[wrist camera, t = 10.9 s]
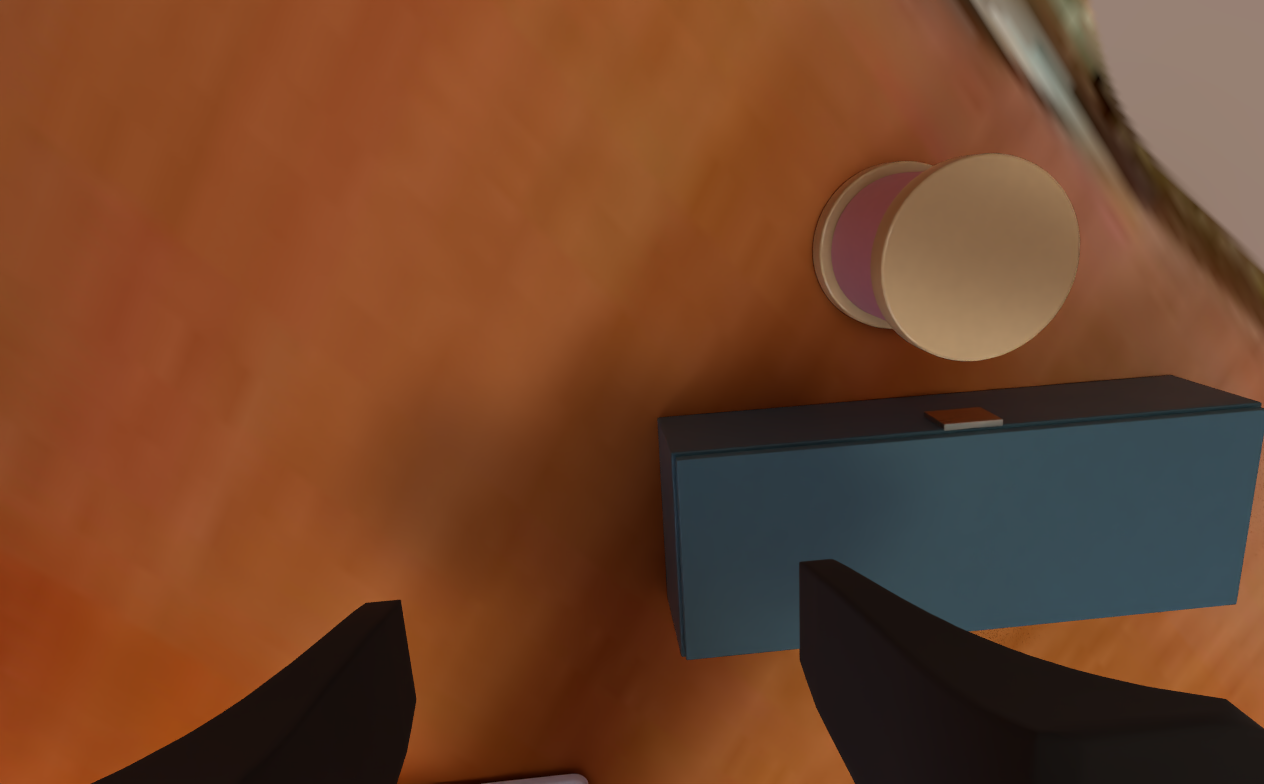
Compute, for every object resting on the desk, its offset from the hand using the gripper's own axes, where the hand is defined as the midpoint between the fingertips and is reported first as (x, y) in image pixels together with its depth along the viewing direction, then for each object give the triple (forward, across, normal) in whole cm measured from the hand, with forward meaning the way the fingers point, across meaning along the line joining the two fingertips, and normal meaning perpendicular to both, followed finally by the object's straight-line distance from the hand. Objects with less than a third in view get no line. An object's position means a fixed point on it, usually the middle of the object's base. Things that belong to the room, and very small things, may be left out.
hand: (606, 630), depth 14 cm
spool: (+9, -9, -6) cm, 14 cm away
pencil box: (+9, -10, +2) cm, 14 cm away
